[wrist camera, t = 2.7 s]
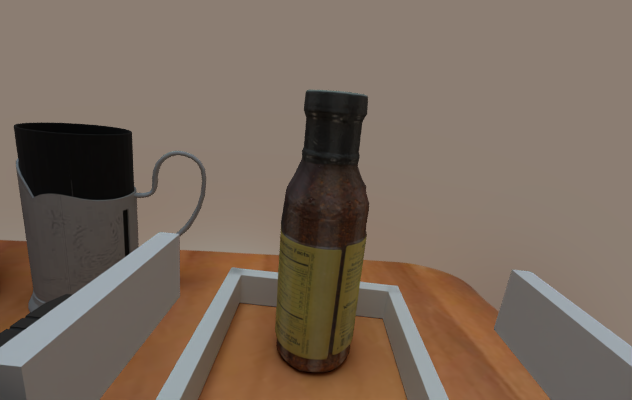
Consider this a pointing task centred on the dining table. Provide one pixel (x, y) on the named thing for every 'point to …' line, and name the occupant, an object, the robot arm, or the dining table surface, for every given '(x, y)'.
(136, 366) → the dining table surface
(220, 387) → the dining table surface
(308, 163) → the sauce bottle
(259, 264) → the dining table surface
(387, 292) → the frame
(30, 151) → the glass holder
